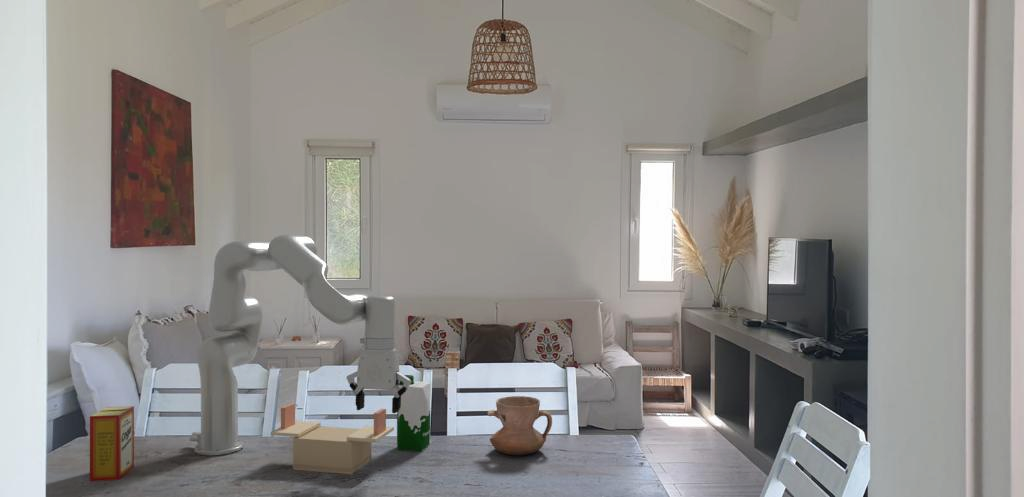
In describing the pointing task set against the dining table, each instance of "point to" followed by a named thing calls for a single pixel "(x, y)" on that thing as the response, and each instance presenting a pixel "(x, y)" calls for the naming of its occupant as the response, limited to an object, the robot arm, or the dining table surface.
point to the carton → (330, 451)
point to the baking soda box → (111, 443)
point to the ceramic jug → (519, 425)
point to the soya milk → (414, 416)
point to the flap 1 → (293, 423)
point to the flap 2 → (373, 429)
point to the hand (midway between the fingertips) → (377, 410)
